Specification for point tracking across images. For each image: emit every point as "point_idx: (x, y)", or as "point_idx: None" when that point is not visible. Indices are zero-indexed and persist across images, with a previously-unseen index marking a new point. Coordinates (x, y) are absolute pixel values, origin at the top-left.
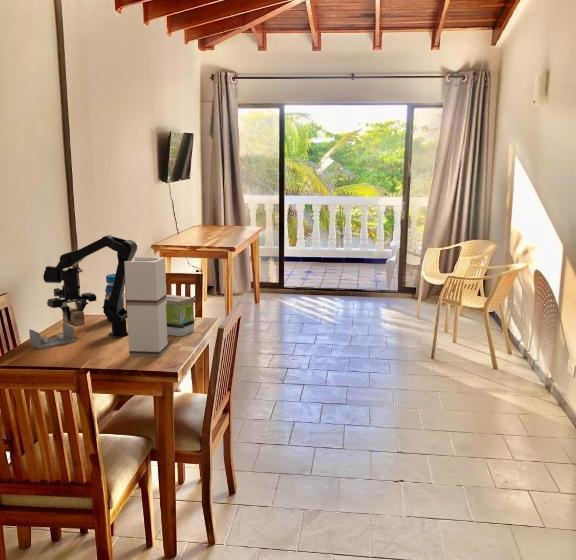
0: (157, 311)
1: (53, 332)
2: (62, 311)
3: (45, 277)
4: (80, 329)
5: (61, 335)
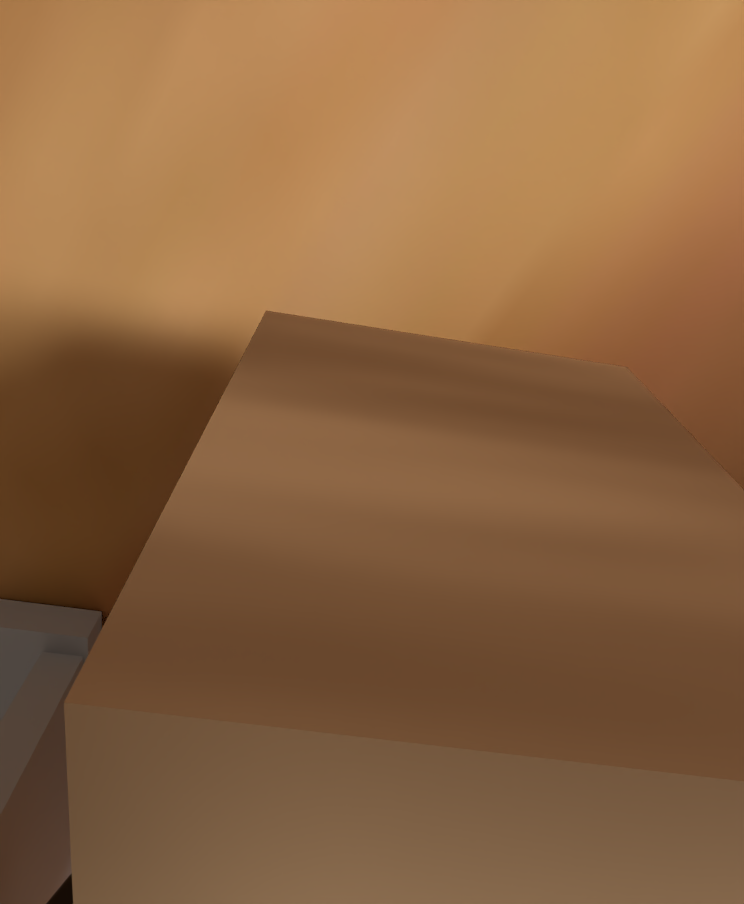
0: None
1: (69, 59)
2: (148, 549)
3: None
4: (657, 393)
5: None
